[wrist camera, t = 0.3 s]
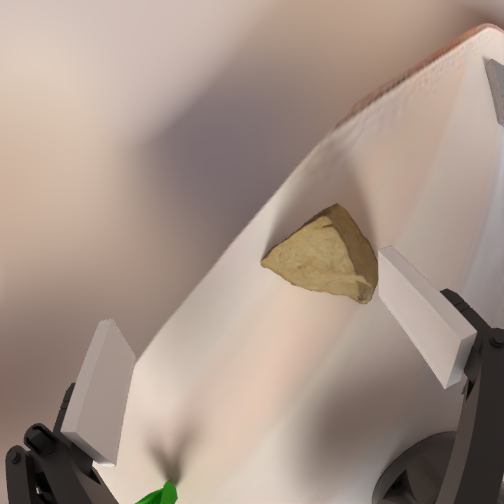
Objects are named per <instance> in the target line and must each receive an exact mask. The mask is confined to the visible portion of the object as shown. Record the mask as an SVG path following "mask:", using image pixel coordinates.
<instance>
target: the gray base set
mask: <svg viewBox="0 0 504 504" xmlns="http://www.w3.org/2000/svg"><path fill="white" fill-rule="evenodd" d="M485 69H486V72H487V76H488V80H489V83H490V87H491V91H492V95H493V100H494V104H495V109H496V114H497V119H498V123H499V124H501V125H503V126H504V66H503V65H501V64H500V63H498V62H496V61H495V60H493V59H491V60H490V61H489V62H488V64H487V65H486V66H485Z"/></svg>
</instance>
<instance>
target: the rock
mask: <svg viewBox="0 0 504 504" xmlns="http://www.w3.org/2000/svg"><path fill="white" fill-rule="evenodd" d="M261 266H262V267H264V268H269V269H271V270H272V271H273V272H275V273H276V274H278V275H280V276H281V277H282V278H284V279H285V280H287V281H289V282H291V284H292V285H295V286H298V287H302V288H305V289H307V290H311V291H312V290H314V291H317V292H322V291H324V292H328V293H331V294H334V295H347V296H349V297H350V298H352V299H354V300H356V301H357V302H359V303H364V304H367V302H368V301H370V300H371V298H372V295H373V293H374V290H375V288H376V285H377V283H378V260H377V259H376V257H375V255H374V251H373V250H372V247H371V245H370V243H369V241H368V240H367V239H366V238H365V237H364V236H363V235H362V233H361V231H360V229H359V228H358V226H357V225H356V223H355V222H354V220H353V219H352V218H351V217H350V215H349V213H348V212H347V211H346V210H345V209H344V208H343V207H341V206H340V205H339V204H337V203H336V204H334V205H333V206H331V207H329V208H326V209H324V210H323V211H321V212H320V213H318V214H317V215H315V216H314V217H313V218H312V219H310V220H309V221H307V222H306V223H305V224H304V225H303V226H302V227H301V228H299V229H298V230H297V231H296V232H294V233H293V234H292V235H291V236H290V237H288V238H287V239H285V240H284V241H283V242H281V243H280V244H278V245H276V246H274V247H273V248H272V249H271V250H270V251H269V252H268V254H267V255H266V256H265V258H264V259H263V260H262V261H261Z"/></svg>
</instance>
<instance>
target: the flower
mask: <svg viewBox="0 0 504 504" xmlns="http://www.w3.org/2000/svg"><path fill="white" fill-rule="evenodd" d="M177 499H178V497H177V492H176V488H175V486H174V485H173V484H172V483H171V482H170V481H167V482H166V483H165V485H164V488H162V489H160V490H157V491H155V492H152V493H150V494H148V495H147V496H145V497H144V498H143V499H141V500H140V501H139V502H137V503H135V504H175V502H176V500H177Z"/></svg>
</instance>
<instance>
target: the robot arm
mask: <svg viewBox="0 0 504 504" xmlns="http://www.w3.org/2000/svg"><path fill="white" fill-rule="evenodd" d="M378 282H379V297H380V299H381V300H382V301H383V303H384V304H385V305H386V307H387V308H388V309H389V311H390V312H391V313H392V315H393V316H394V317H395V319H396V320H397V321H398V323H399V324H400V325H401V327H402V328H403V330H404V331H405V332H406V334H407V335H408V336H409V338H410V339H411V341H412V342H413V343H414V345H415V346H416V348H417V349H418V351H419V352H420V353H421V355H422V356H423V358H424V359H425V361H426V362H427V363H428V365H429V366H430V368H431V369H432V371H433V372H434V374H435V375H436V377H437V378H438V380H439V381H440V383H441V384H442V386H443V387H444V389H446V388H448V387H450V386H452V385H454V384H456V383H458V382H459V381H460V380H461V377H462V375H463V372H464V373H465V374H466V376H467V377H468V379H467V382H466V384H465V386H464V389H463V391H462V394H464V393H465V394H464V400H463V406H462V411H461V416H460V421H459V426H458V430H457V432H445V433H441V434H437V435H434V436H431V437H429V438H427V439H425V440H423V441H421V442H419V443H417V444H416V445H414V446H413V447H411V448H410V449H408V450H407V451H406V452H404V453H403V454H402V455H401V456H400V457H398V458H397V459H396V460H395V461H394V462H393V463H392V464H391V465H390V466H389V468H388V469H387V470H386V471H385V473H384V474H383V475H382V477H381V478H380V480H379V481H378V483H377V485H376V487H375V490H374V493H373V497H372V504H504V482H503V481H502V479H503V474H504V330H503V329H499V328H491V327H490V326H489V325H488V324H487V323H486V322H485V321H484V320H483V319H482V318H481V317H480V316H479V315H478V314H477V313H476V312H475V311H474V310H473V309H472V308H470V306H469V305H468V304H467V303H466V302H464V300H463V299H462V298H461V297H460V296H459V295H458V294H457V293H455V292H453V291H451V290H449V289H444V290H442V291H440V292H439V291H438V290H437V289H436V288H435V287H434V286H433V285H432V284H431V283H430V282H429V281H428V280H427V279H426V278H425V277H424V276H423V275H422V274H421V273H420V272H419V271H418V270H417V269H416V268H415V267H414V266H413V265H412V264H411V263H410V262H408V261H407V260H406V259H405V258H404V257H403V256H402V255H401V254H400V253H399V252H398V251H397V250H395V249H394V248H393V247H392V246H389V247H386V248H382V249H379V250H378ZM135 360H136V356H135V355H134V353H133V352H132V350H131V349H130V347H129V345H128V344H127V342H126V340H125V339H124V337H123V336H122V334H121V332H120V331H119V329H118V327H117V325H116V324H115V322H114V320H113V319H108V320H103V321H100V322H99V325H98V327H97V330H96V332H95V334H94V337H93V340H92V342H91V344H90V347H89V349H88V352H87V355H86V357H85V360H84V362H83V365H82V368H81V371H80V373H79V376H78V379H77V382H76V383H72V384H71V385H70V387H69V388H68V390H67V391H66V393H65V396H64V399H63V403H62V405H61V407H60V408H61V410H59V414H58V417H57V420H56V423H55V426H54V429H53V432H51V431H50V430H49V429H48V428H47V427H46V426H44V425H43V424H41V423H37V424H34V425H32V426H31V427H30V428H29V429H28V430H27V431H26V433H25V436H24V444H25V445H26V446H27V447H28V448H30V449H31V450H30V451H26V450H25V449H24V448H23V447H21V446H19V445H16V446H14V447H12V448H10V450H9V451H8V453H7V455H6V460H5V462H6V480H7V491H8V500H9V504H119V503H118V502H117V500H116V499H115V498H114V496H113V495H112V493H111V492H110V490H109V489H108V487H107V486H106V484H105V483H104V481H103V480H102V478H101V477H100V475H99V473H98V472H97V470H96V469H95V468H94V467H93V466H92V463H93V460H94V461H96V462H97V463H98V464H99V465H101V466H116V463H117V456H118V449H119V443H120V437H121V431H122V425H123V419H124V414H125V409H126V403H127V398H128V393H129V388H130V383H131V379H132V374H133V369H134V365H135ZM36 488H38V491H39V494H38V493H37V490H36Z"/></svg>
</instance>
